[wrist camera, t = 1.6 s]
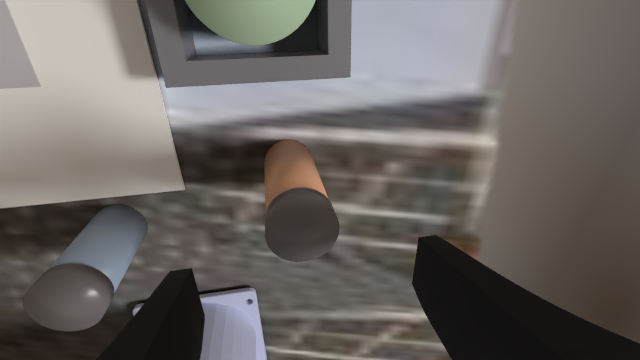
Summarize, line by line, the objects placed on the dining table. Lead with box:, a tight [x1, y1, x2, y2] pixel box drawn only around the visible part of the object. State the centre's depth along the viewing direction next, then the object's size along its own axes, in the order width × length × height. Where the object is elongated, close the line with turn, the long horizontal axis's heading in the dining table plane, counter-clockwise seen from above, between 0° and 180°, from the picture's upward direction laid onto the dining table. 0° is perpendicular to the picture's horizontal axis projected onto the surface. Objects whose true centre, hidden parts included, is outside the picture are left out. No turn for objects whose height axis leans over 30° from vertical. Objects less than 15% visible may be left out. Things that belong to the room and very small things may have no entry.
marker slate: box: [23, 205, 148, 331], centre depth 16 cm, size 3×3×6 cm
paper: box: [0, 0, 185, 208], centre depth 14 cm, size 14×12×1 cm
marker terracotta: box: [264, 140, 339, 262], centre depth 15 cm, size 3×3×7 cm
